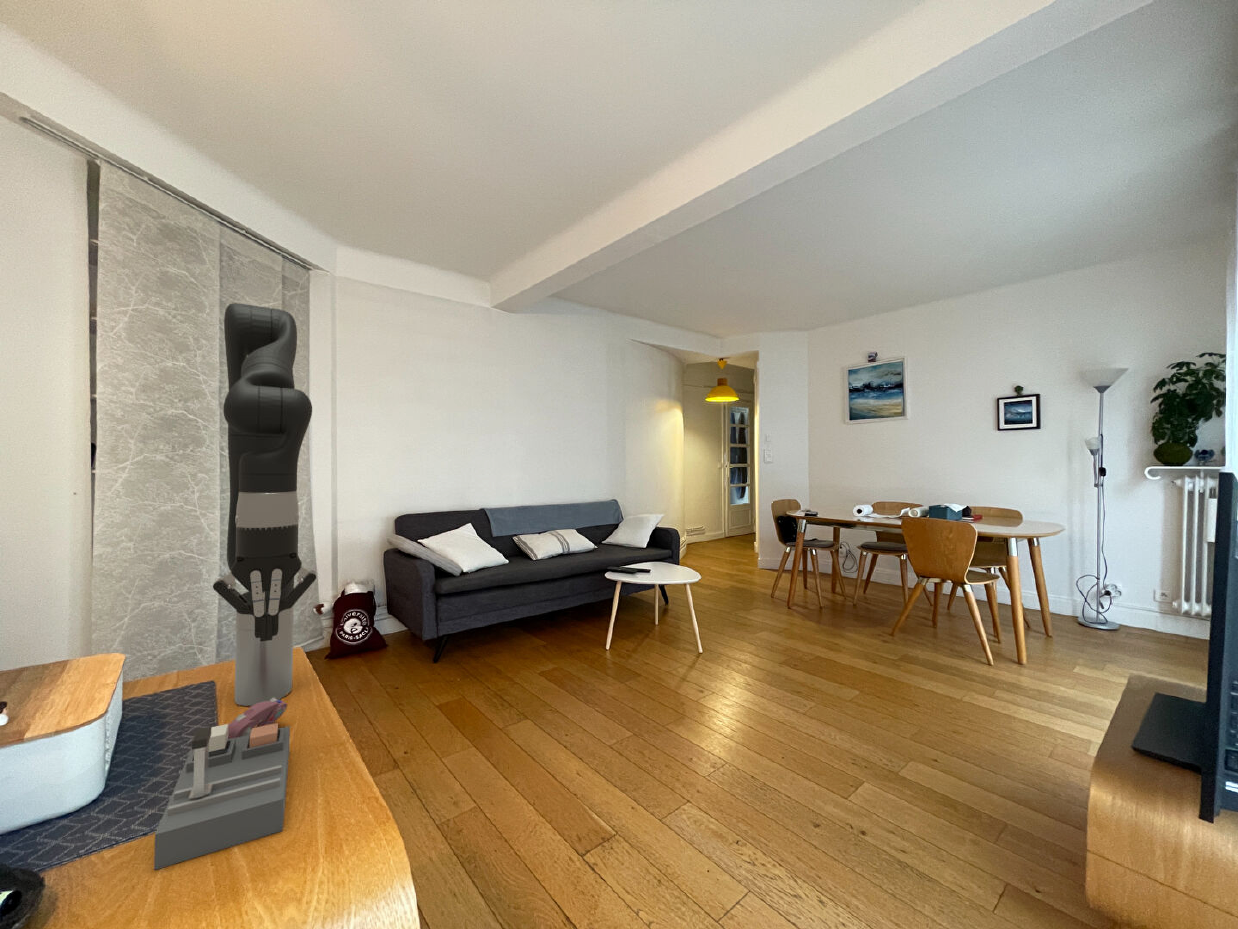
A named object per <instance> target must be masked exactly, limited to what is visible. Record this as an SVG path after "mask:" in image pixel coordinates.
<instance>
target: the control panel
mask: <svg viewBox="0 0 1238 929" xmlns="http://www.w3.org/2000/svg"><path fill="white" fill-rule="evenodd" d="M290 729H291V726H290V725H288V726H285V727H280V728H279V727H278V739H277V742H274V743H270V744H265V745H261V746H256V747H252V748H250V735H251V734H250V735H246V736H242V737H238V738H232V739H228V740H227V743H226V746H225V749H220V750H216V751H211V752H209V772H208V784H212V783H213V791H212V794H211V796H208V797H204V798H200V799H196V800H192V801H189V796H190V793H191V790H192V788H194V750H192V747H191V748H190V751H189V754H188V756H187V758H186V761H185V763H184V765H183V767H182V769H181V772H180V774H179V777H178V779H177V781H176V784H175V786H174V789H173V792H172V793H171V796H170V798H169V800H168V803H167V805H166V807H165V810H164V812H163V814H162V817H161V819H160V822H159V824H158V826H157V828H156V830H155V833H154V860H153V863H154V866H153V869H154V871H155V870H159V869H162V868H166V867H169V866H173V865H177V864H178V863H182V862H185V861H188V860H192V859H195V858H200V857H201V856H202V857H203V856H205V855H209V854H211V853H214V852H218V851H221V850H225V849H228V848H230V847H231V848H232V847H235V846H238V845H241V844H244V843H247V842H250V841H251V842H252V841H254V840H258V839H260V838H263V837H264V838H265V837H267V836H270V835H271V836H272V835H274V834H277V833H280V832H283V831H284V821H285V820H284V818H285V810H286V809H285V808H286V806H285V805H286V797H287V796H286V794H287V784H288V782H287V781H288V772H289V761H288V760H290V734H291V733H290V732H291V730H290Z"/></svg>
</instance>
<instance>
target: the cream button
mask: <svg viewBox="0 0 1238 929" xmlns="http://www.w3.org/2000/svg"><path fill="white" fill-rule="evenodd" d="M228 725H229V723H226V724H225V723H224V724H221V725H217V726H210V727H211V737H210V739H209V752H211V751H216V750H220V749H225V746H226V743H227V740H228Z"/></svg>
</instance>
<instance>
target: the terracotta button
mask: <svg viewBox="0 0 1238 929" xmlns="http://www.w3.org/2000/svg"><path fill="white" fill-rule="evenodd" d="M255 727H256V726H255ZM278 728H279V722H277V723H275V722H274V723H273V724H270V725H265V726H261V727H256V728H252V731H251V735H250V748H252V747H256V746H261V745H265V744H270V743H274V742H277V739H278Z"/></svg>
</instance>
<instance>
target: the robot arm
mask: <svg viewBox="0 0 1238 929" xmlns="http://www.w3.org/2000/svg"><path fill="white" fill-rule="evenodd" d="M223 318H224V319H223V330H224V331H223V332H224V334H223V335H224V344H225V356H226V367H227V379H228V380H227V381H228V382H227V384H228V392H227V394H226V396H225V398H224V401H223V409H222V410H223V411H222V412H223V417H224V421H226V424H227V448H228V449H227V451H228V470H229V471H228V472H229V508H228V509H229V510H228V511H229V512H228V524H227V525H228V528H227V540H226V541H227V542H226V559H227V560H226V561H227V566H228V569H229V571H230V572H229V573H227V574H226V575H225V576H223V577H221V578H218V579H217V580H216V581H215V582H214V583H213V585H212V589H213V590H214V591H215V592H216V593H217V594H218V595H219V596H220V597H222V598H223V599H224V600H225V601H226V602H227V603H228V604H229V605H231V607H233V608H234V610H235V614H236V615H235V617H236V618H235V619H236V620H235V660H234V661H235V663H234V664H235V667H234V668H235V669H234V671H235V672H234V703H235V704H237V705H238V706H239V705H240V706H243V707H244V706H248V707H249V706H250V707H251V706H253V705H254V704H257V703H259V702H264V701H270V700H271V699H272V698H273V697H274V698H275V699H276V700H278V699H279V700H281V699H283V698H285V697H286V696H287V695H286V694H287V693H289V692H290V691H291V689H292V690H293V670H294V669H293V666H294V665H293V662H294V661H293V659H294V658H293V656H294V605H295V604H296V603H297V601H299V599H300V598H301V597H302V596H303V595H304V593H306V591H307V590H308V589H309V588H310V587H311V585H312V584H313V583H314V582H315V581H316V580H317V573H316V571H315V570H309V569H307V568H306V567H304V566H302V564H303V563H302V560H301V559H300V556H299V519H300V515H299V510H300V509H299V500H298V467H299V466H298V464H299V463H298V462H299V457H300V451H301V448H302V444H303V441H304V439H305V435H306V433H307V430H308V427H309V424H310V422H311V420H312V416H313V404H312V401H311V400H310V398H309V396H308V395H307V393H305V392H304V391H302V390H301V389H298V388H297V389H296V388H295V379H294V372H293V370H294V369H293V368H294V363H295V359H296V355H297V349H298V348H297V346H298V331H297V330H298V328H297V323H296V321H295V320H296V319H294V316H293V315H292V314H291V313H290V312H289V311H286V310H284V309H283V310H282V309H279V308H272V307H266V306H257V305H251V304H245V303H235V302H234V303H233V302H232V303H229V304H228V305H227V307H226V308H225V311H224V317H223ZM297 574H298V576H297V578H296V580H297V583H298V584H296V585H295V576H296V575H297ZM235 579H236V580H237V581H238V582H239V583H240V584H241V585H242V586H243V587H244V589H245V590H247V591H245V592H244V593H240V592H239V591H238V590H237V589H236V586H237V582H236V581H235ZM291 692H292V691H291ZM291 692H290V693H291ZM290 693H289V694H290ZM285 695H286V696H285ZM284 696H285V697H284ZM282 697H283V698H282Z"/></svg>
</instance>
